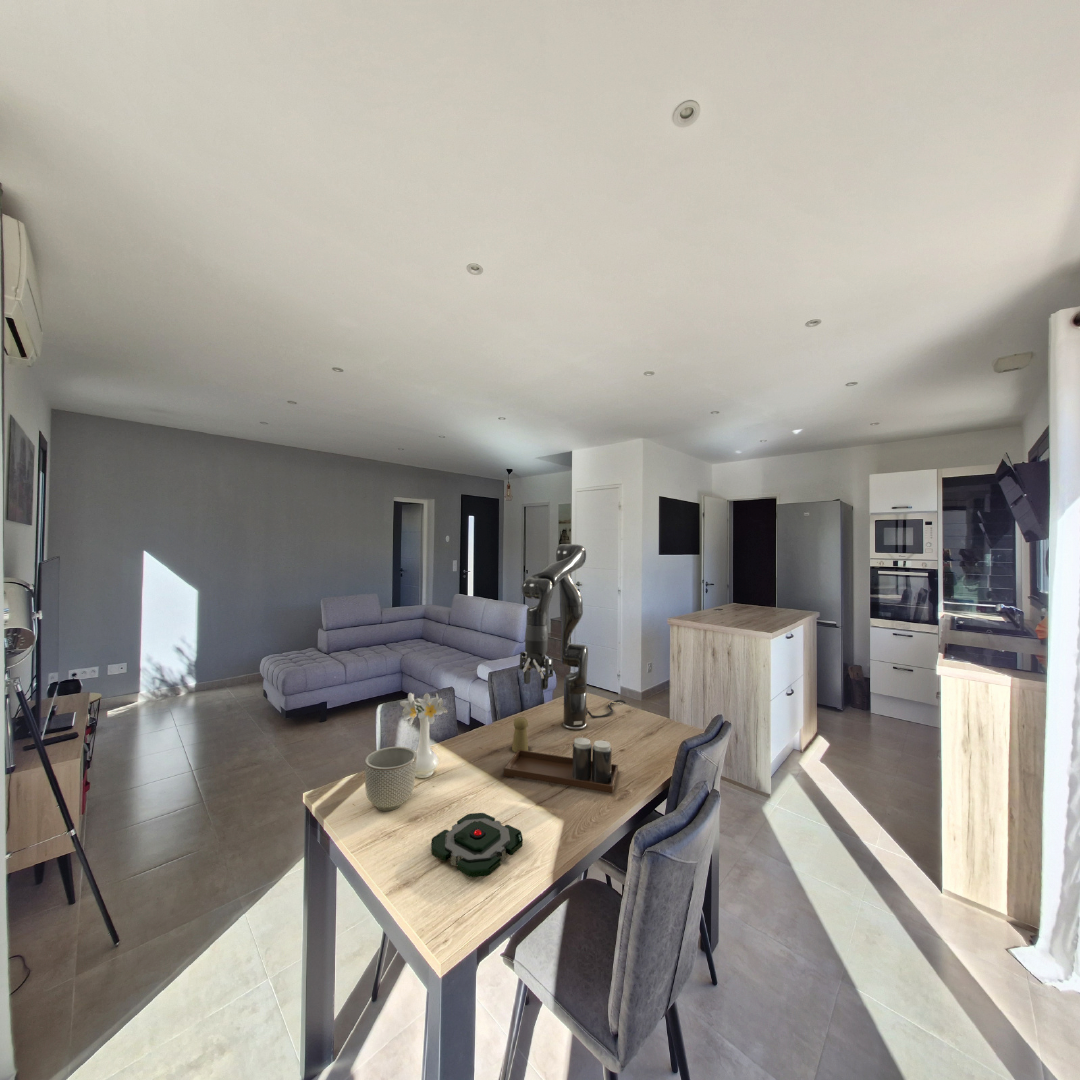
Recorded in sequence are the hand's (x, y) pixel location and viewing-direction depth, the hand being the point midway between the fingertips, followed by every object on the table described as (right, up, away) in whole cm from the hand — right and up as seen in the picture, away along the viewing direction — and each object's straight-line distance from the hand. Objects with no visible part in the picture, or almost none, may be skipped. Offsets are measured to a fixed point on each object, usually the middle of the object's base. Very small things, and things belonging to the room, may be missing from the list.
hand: (535, 686), depth 151 cm
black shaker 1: (+15, -26, -8) cm, 31 cm away
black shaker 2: (+21, -26, -10) cm, 35 cm away
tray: (+8, -26, -7) cm, 28 cm away
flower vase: (-36, -25, -8) cm, 45 cm away
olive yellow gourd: (-6, -26, +11) cm, 29 cm away
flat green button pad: (-13, -25, -44) cm, 52 cm away
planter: (-40, -25, -26) cm, 54 cm away
